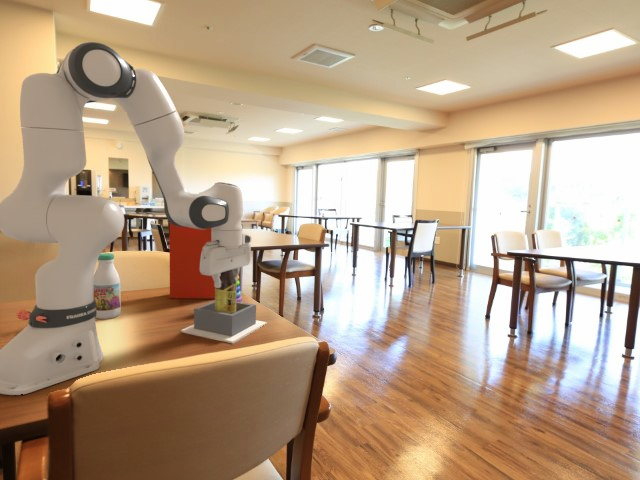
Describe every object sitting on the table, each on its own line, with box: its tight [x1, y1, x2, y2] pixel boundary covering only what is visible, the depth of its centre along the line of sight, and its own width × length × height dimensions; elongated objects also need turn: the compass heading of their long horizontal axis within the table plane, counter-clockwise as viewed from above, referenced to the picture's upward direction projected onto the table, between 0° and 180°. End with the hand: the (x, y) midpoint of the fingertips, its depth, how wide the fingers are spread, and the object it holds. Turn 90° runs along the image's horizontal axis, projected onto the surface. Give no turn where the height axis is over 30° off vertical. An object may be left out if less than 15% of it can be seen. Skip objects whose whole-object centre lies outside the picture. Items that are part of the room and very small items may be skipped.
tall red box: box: [169, 221, 215, 300], centre depth 147 cm, size 8×17×32 cm, turn 97°
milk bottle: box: [94, 252, 122, 320], centre depth 122 cm, size 8×8×20 cm
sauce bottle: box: [214, 260, 237, 314], centre depth 115 cm, size 6×6×20 cm
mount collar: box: [180, 300, 268, 345], centre depth 116 cm, size 18×18×7 cm
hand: (226, 284), depth 115 cm, fingers closed on sauce bottle, 6 cm apart
